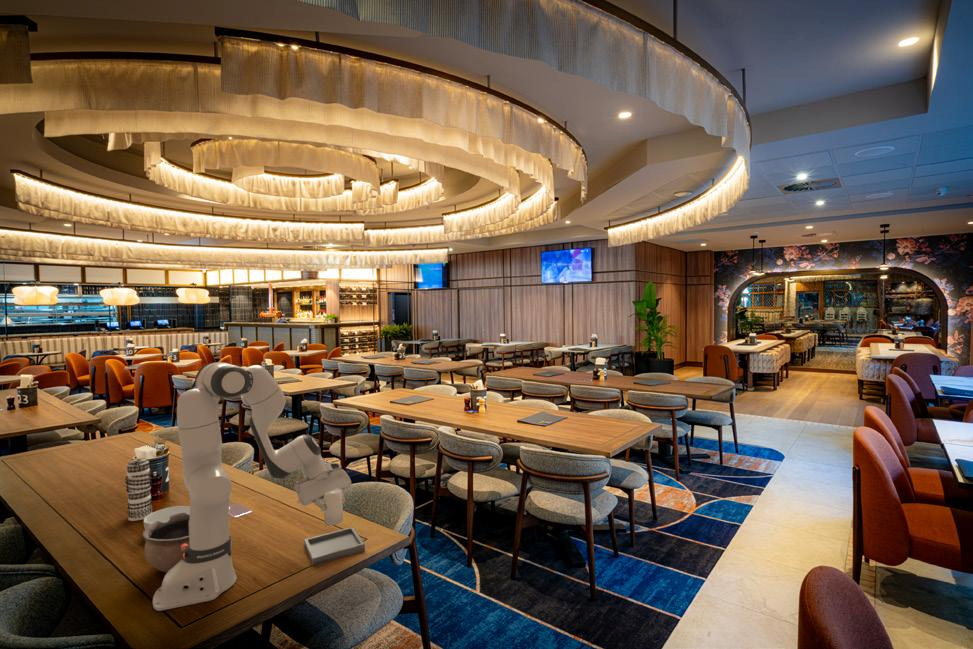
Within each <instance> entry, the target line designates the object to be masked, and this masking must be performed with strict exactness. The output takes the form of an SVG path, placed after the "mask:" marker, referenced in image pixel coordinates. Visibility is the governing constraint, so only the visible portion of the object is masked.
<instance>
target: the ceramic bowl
mask: <svg viewBox="0 0 973 649" xmlns="http://www.w3.org/2000/svg"><path fill="white" fill-rule="evenodd" d="M189 517H190V515H189V514H187V513H179V514H176V515H172V516H170V520H169V521H168V522H165V523H163V522H160V521H156V522H154V523H152V524H151V525H149V526H148V527H147V528H146V529H145V528H144V530H143V532H142V537H143V539H144V541H145V543H144V550H143V551H144V557H145V560H147V562H148V563H149V564H150V565H151V566H152V567H153V568H154V569H156V570H158V571H160V572H163V573H167V572H168V571H169V570H170V569H171V568H173V567H174V566H175V565H176V564H177V563H178V562H179V561H181V560H182V551H181V546H182V545H183V544H187V545H189V524H188V522H189Z"/></svg>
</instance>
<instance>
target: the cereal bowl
mask: <svg viewBox="0 0 973 649" xmlns="http://www.w3.org/2000/svg"><path fill="white" fill-rule="evenodd" d="M179 513H187V514H189V515H190V505H176V506H170V507H165V508H161V509H159V510H156V511H152V513H151V514H149V515H148V516H146V517H145V518H144V519H143V527H144V530H145V529H146V528H147V527H148V526H149V525H151V524H152V523H154V522H156V521H160V522H163V523H165V522H168V521H169V520H170V516H172V515H176V514H179Z"/></svg>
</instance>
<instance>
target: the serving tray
mask: <svg viewBox="0 0 973 649" xmlns="http://www.w3.org/2000/svg"><path fill="white" fill-rule="evenodd" d="M303 543H304V548H305V550H306V552H307V555H308V558H309V559H310V562H311V565H312V564H313V565H314V566H317V565H320V564H325V563H326V562H330V561H335V560H338V559H340V558H344V557H347V556H351V555H354V554H359V553H362V552H365V551H366V547H365V545H366V544H365V542H364V541H363V539H362V538H361V537H360V535H359V533H358V532H357V531H356V529H355V528H354V527H353V526H351V527H347V528H343V529H338V530H334V531H331V532H328V533H324V534H320V535H316V536H312V537H308V538H304V542H303ZM313 565H312V566H313Z"/></svg>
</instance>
